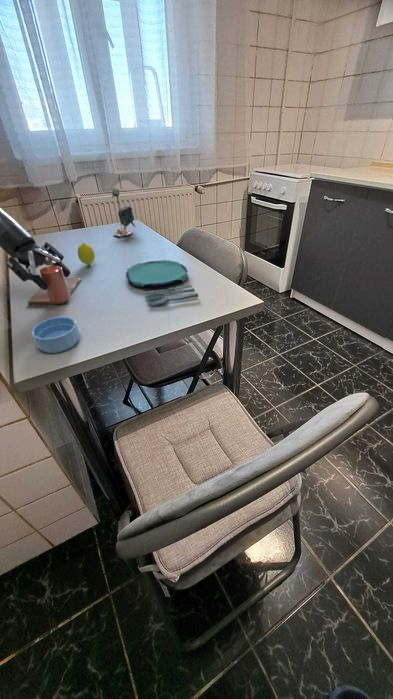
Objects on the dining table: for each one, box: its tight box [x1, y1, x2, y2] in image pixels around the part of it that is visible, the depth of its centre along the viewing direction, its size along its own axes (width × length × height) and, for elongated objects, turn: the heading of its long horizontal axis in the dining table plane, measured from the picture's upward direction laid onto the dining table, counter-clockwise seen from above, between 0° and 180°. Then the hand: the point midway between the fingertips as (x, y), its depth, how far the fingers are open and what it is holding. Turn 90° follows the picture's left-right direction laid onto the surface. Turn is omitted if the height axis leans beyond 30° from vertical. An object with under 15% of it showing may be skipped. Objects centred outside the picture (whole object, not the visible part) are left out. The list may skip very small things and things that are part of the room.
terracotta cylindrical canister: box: [39, 265, 72, 303], centre depth 81 cm, size 6×6×8 cm
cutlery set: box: [125, 259, 199, 307], centre depth 92 cm, size 20×30×2 cm, turn 17°
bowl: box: [30, 316, 81, 354], centre depth 67 cm, size 9×10×4 cm
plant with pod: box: [111, 186, 136, 237], centre depth 131 cm, size 8×11×20 cm
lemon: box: [77, 242, 96, 266], centre depth 104 cm, size 6×6×8 cm
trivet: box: [27, 277, 82, 306], centre depth 89 cm, size 16×10×1 cm, turn 0°
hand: (58, 281), depth 80 cm, fingers open, 8 cm apart
